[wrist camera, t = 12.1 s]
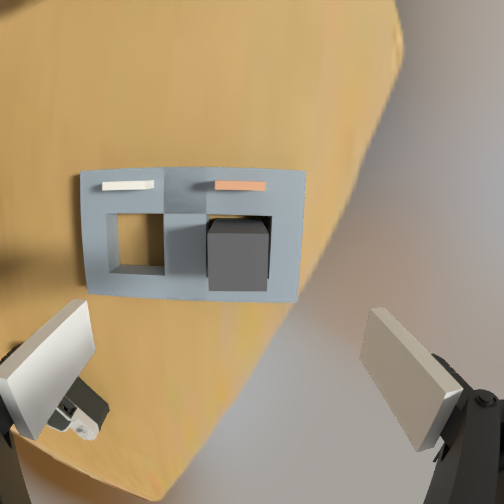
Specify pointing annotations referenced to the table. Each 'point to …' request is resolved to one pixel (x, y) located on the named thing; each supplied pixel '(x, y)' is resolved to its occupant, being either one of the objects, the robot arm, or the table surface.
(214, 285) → the plug
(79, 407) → the camera
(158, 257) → the table surface
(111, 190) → the socket block
